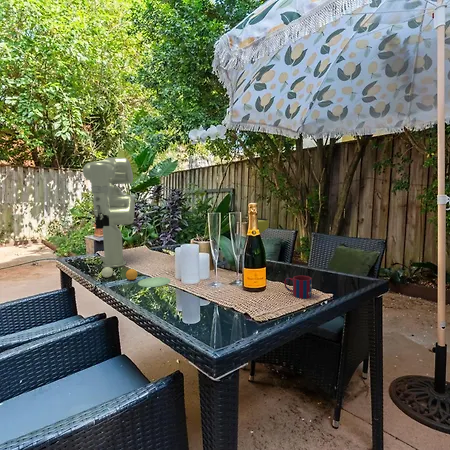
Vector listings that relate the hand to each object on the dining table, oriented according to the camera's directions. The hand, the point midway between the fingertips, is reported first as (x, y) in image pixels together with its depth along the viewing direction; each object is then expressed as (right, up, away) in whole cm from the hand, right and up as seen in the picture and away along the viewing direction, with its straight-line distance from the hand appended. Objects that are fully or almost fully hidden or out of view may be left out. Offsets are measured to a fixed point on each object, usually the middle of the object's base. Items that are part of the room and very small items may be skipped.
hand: (102, 227), depth 144 cm
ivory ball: (+1, -21, +1) cm, 21 cm away
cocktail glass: (+70, -22, +8) cm, 73 cm away
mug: (+84, -25, -28) cm, 93 cm away
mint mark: (+26, -24, -8) cm, 36 cm away
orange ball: (+15, -21, -4) cm, 26 cm away
